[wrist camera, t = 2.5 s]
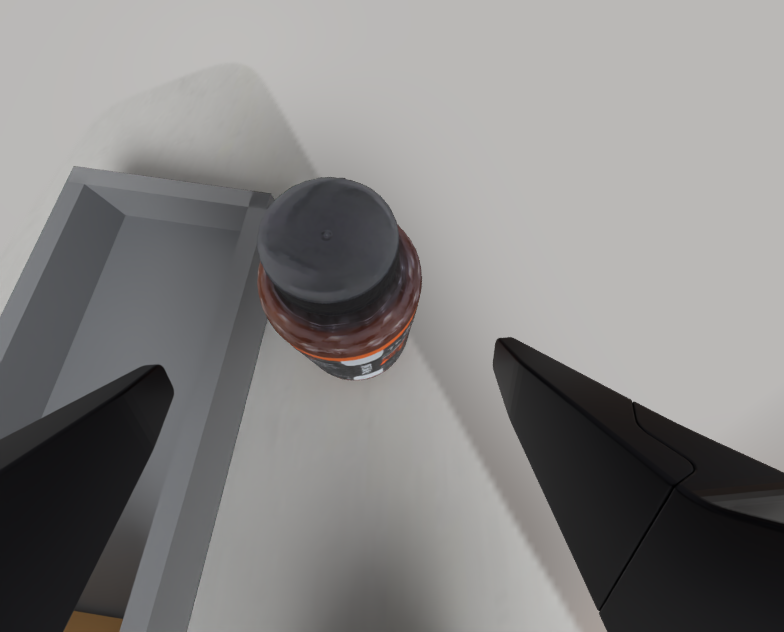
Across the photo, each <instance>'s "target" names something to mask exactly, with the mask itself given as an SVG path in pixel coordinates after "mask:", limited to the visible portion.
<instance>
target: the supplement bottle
mask: <svg viewBox="0 0 784 632" xmlns="http://www.w3.org/2000/svg"><path fill="white" fill-rule="evenodd" d="M257 250H258V255H259V258H260V264H259V268H258V280H257V286H258V294H259V298H260V302H261V305H262V308H263V311H264V312H265V314H266V316H267V318H268V320H269V321H270V323H271V324H272V326H273V327H274V329H275V330H276V331H277V332H278V333H279V335H280V336H281V337H283V338H284V339H285V340H286V341H287V342H288V343H290V344H291V345H292V346H293V347H294V348H295V349H297V350H298V351H299V352H301V353H302V354H303V355H305V356H306V357H307V358H308V359H310V360H311V361H312V362H314V363H315V364H316V365H318V366H319V367H320V368H321V369H323V370H324V371H326V372H327V373H329V374H331V375H333V376H336V377H338V378H341V379H346V380H364V379H369V378H372V377H375V376H377V375H379V374H381V373H383V372H384V371H386V370H387V369H388V368H389V367H391V366H392V365H393V363H394V362H396V360H397V359H398V357H399V356H400V354H401V353H402V351H403V349H404V347H405V345H406V342H407V338H408V335H409V331H410V328H411V325H412V322H413V319H414V316H415V313H416V310H417V306H418V302H419V298H420V293H421V285H422V276H421V266H420V261H419V257H418V255H417V252H416V249H415V247H414V246H413V244H412V241H411V240H410V238H409V237H408V236H407V235H406V234H405V232H404V231H403V230H402V229H401V228H400V227H399V225H397V222H396V220H395V217H394V215H393V213H392V211H391V209H390V207H389V206H388V204H387V203H386V202H385V201H384V200H383V199H382V197H381V196H379V195H378V194H377V193H376V192H375V191H373V190H372V189H371V188H369V187H367V186H365V185H363V184H360V183H358V182H355V181H352V180H347V179H345V178H334V177H325V178H317V179H313V180H309V181H305V182H303V183H300V184H298V185H295V186H293V187H291V188H290V189H288V190H287V191H286V192H284V193H283V194H281V195H280V196H279V197H278V198H277V199H276V200H275V201H274V202H273V203H272V204H271V205H270V206H269V208H268V209H267V210H266V212H265V214H264V216H263V218H262V220H261V222H260V225H259V232H258V236H257Z"/></svg>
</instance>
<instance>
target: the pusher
mask: <svg viewBox="0 0 784 632" xmlns="http://www.w3.org/2000/svg"><path fill="white" fill-rule="evenodd" d="M122 621H123V619H120V618H114V617H108V616H102V615H96V614H90V613H84V612H78V611H73V613H72V615H71V617H70V619H69V621H68V623H67V626H66V628H65V630H64V632H119V631H120V628H121V624H122Z"/></svg>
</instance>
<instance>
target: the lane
mask: <svg viewBox="0 0 784 632" xmlns="http://www.w3.org/2000/svg"><path fill="white" fill-rule="evenodd" d="M274 201H275V200H274V198H273V196H272V194H271V193H263V192H256V191H249V190H242V189H235V188H228V187H221V186H213V185H206V184H199V183H192V182H185V181H178V180H170V179H163V178H156V177H149V176H142V175H135V174H127V173H120V172H113V171H106V170H99V169H92V168H85V167H77V166H74V167H73V169H72V171H71V173H70V175H69V177H68V179H67V181H66V183H65V185H64V187H63V189H62V191H61V193H60V195H59V197H58V200H57V202H56V204H55V206H54V208H53V210H52V212H51V214H50V216H49V218H48V220H47V222H46V224H45V226H44V228H43V230H42V232H41V234H40V236H39V239H38V241H37V243H36V245H35V247H34V249H33V251H32V253H31V255H30V257H29V259H28V261H27V263H26V265H25V267H24V269H23V271H22V273H21V275H20V278H19V280H18V282H17V284H16V286H15V288H14V290H13V292H12V294H11V296H10V298H9V300H8V302H7V304H6V306H5V308H4V310H3V312H2V314H1V317H0V439H2V438H4V437H6V436H8V435H10V434H11V433H13V432H15V431H17V430H19V429H21V428H23V427H25V426H27V425H29V424H31V423H33V422H35V421H37V420H38V419H40V418H42V417H44V416H46V415H48V414H50V413H52V412H54V411H56V410H58V409H60V408H62V407H64V406H66V405H67V404H69V403H71V402H73V401H75V400H77V399H79V398H81V397H83V396H85V395H87V394H89V393H91V392H93V391H94V390H96V389H98V388H100V387H102V386H104V385H106V384H108V383H110V382H112V381H114V380H116V379H118V378H120V377H122V376H123V375H125V374H127V373H129V372H131V371H133V370H135V369H137V368H139V367H141V366H144V365H154V364H159V365H162V366H163V367H164V369H165V371H166V373H167V375H168V377H169V379H170V381H171V383H172V385H173V388H174V397H173V400H172V402H171V405H170V408H169V411H168V413H167V416H166V419H165V421H164V424H163V427H162V429H161V432H160V435H159V437H158V440H157V442H156V445H155V447H154V450H153V452H152V454H151V456H150V458H149V460H148V462H147V464H146V466H145V468H144V470H143V472H142V474H141V476H140V478H139V480H138V483H137V485H136V487H135V489H134V491H133V493H132V495H131V497H130V499H129V501H128V503H127V505H126V507H125V509H124V511H123V513H122V515H121V517H120V519H119V521H118V523H117V525H116V527H115V529H114V531H113V533H112V535H111V537H110V539H109V541H108V543H107V545H106V547H105V549H104V551H103V553H102V555H101V557H100V559H99V561H98V563H97V565H96V567H95V569H94V571H93V573H92V575H91V577H90V579H89V581H88V583H87V585H86V587H85V589H84V591H83V593H82V595H81V597H80V599H79V601H78V603H77V605H76V607H75V609H74V611H78V612H84V613H90V614H96V615H102V616H108V617H114V618H120V619H123V621H122V624H121V628H120V631H119V632H187V628H188V624H189V620H190V616H191V612H192V608H193V604H194V601H195V597H196V593H197V589H198V585H199V581H200V577H201V573H202V570H203V566H204V562H205V558H206V554H207V550H208V546H209V542H210V538H211V535H212V531H213V527H214V523H215V519H216V515H217V511H218V507H219V504H220V500H221V496H222V492H223V488H224V484H225V480H226V476H227V473H228V469H229V465H230V461H231V457H232V453H233V449H234V445H235V442H236V438H237V434H238V430H239V426H240V422H241V418H242V414H243V411H244V407H245V403H246V399H247V395H248V391H249V387H250V383H251V380H252V376H253V372H254V368H255V364H256V360H257V356H258V352H259V349H260V345H261V341H262V337H263V333H264V329H265V325H266V321H267V316H266V314H265V312H264V311H263V308H262V305H261V302H260V298H259V294H258V286H257V280H258V268H259V264H260V258H259V255H258V250H257V236H258V232H259V225H260V222H261V220H262V218H263V216H264V214H265V212H266V210H267V209H268V208H269V206H270V205H271V204H272V203H273V202H274Z"/></svg>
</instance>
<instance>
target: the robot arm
mask: <svg viewBox="0 0 784 632" xmlns="http://www.w3.org/2000/svg"><path fill="white" fill-rule="evenodd" d="M493 370H494V373H495V376H496V379H497V382H498V385H499V389H500V392H501V395H502V398H503V401H504V404H505V407H506V410H507V413H508V416H509V418H510V421H511V423H512V425H513V428H514V430H515V432H516V434H517V436H518V439H519V441H520V443H521V445H522V447H523V449H524V451H525V454H526V456H527V458H528V460H529V462H530V464H531V467H532V469H533V471H534V473H535V475H536V478H537V480H538V482H539V484H540V486H541V488H542V490H543V493H544V495H545V497H546V499H547V501H548V504H549V506H550V508H551V510H552V512H553V514H554V517H555V519H556V521H557V523H558V525H559V527H560V530H561V532H562V534H563V536H564V538H565V540H566V543H567V545H568V547H569V549H570V551H571V553H572V556H573V558H574V560H575V562H576V564H577V566H578V569H579V571H580V573H581V575H582V577H583V579H584V582H585V584H586V586H587V588H588V590H589V593H590V595H591V597H592V599H593V601H594V603H595V606H596V608H597V610H599V611H600V612H599V615H600V617H601V619H602V621H603V623H604V626H605V628H606V630H607V632H784V473H783V472H781V471H779V470H777V469H775V468H772V467H770V466H768V465H766V464H764V463H762V462H759V461H757V460H755V459H753V458H751V457H749V456H746V455H744V454H742V453H740V452H738V451H735V450H733V449H731V448H729V447H727V446H724V445H722V444H720V443H718V442H716V441H714V440H711V439H709V438H707V437H705V436H703V435H701V434H699V433H696V432H694V431H692V430H690V429H688V428H686V427H684V426H681V425H679V424H677V423H675V422H673V421H671V420H669V419H667V418H665V417H663V416H661V415H659V414H658V413H656V412H654V411H651V410H650V409H648V408H646V407H644V406H642V405H640V404H638V403H636V402H633V403H632V400H631V399H628V398H627V397H625V396H623V395H621V394H619V393H617V392H615V391H613V390H612V389H610V388H608V387H605V386H604V385H602V384H600V383H598V382H596V381H594V380H592V379H591V378H589V377H587V376H585V375H583V374H581V373H579V372H577V371H575V370H573V369H571V368H570V367H568V366H566V365H564V364H562V363H560V362H558V361H556V360H554V359H553V358H551V357H549V356H547V355H545V354H543V353H541V352H539V351H537V350H535V349H533V348H532V347H530V346H528V345H526V344H524V343H522V342H520V341H518V340H516V339H514V338H512V337H508V338H499V339H497V341H496V343H495V350H494V358H493ZM173 397H174V388H173V385H172V383H171V381H170V379H169V377H168V375H167V373H166V371H165V369H164V367H163V366H162V365H159V364H154V365H144V366H141V367H139V368H137V369H135V370H133V371H131V372H129V373H127V374H125V375H123V376H122V377H120V378H118V379H116V380H114V381H112V382H110V383H108V384H106V385H104V386H102V387H100V388H98V389H96V390H94V391H93V392H91V393H89V394H87V395H85V396H83V397H81V398H79V399H77V400H75V401H73V402H71V403H69V404H67V405H66V406H64V407H62V408H60V409H58V410H56V411H54V412H52V413H50V414H48V415H46V416H44V417H42V418H40V419H38V420H37V421H35V422H33V423H31V424H29V425H27V426H25V427H23V428H21V429H19V430H17V431H15V432H13V433H11V434H10V435H8V436H6V437H4V438H2V439H0V632H64V630H65V628H66V626H67V623H68V621H69V619H70V617H71V615H72V613H73V611H74V609H75V607H76V605H77V603H78V601H79V599H80V597H81V595H82V593H83V591H84V589H85V587H86V585H87V583H88V581H89V579H90V577H91V575H92V573H93V571H94V569H95V567H96V565H97V563H98V561H99V559H100V557H101V555H102V553H103V551H104V549H105V547H106V545H107V543H108V541H109V539H110V537H111V535H112V533H113V531H114V529H115V527H116V525H117V523H118V521H119V519H120V517H121V515H122V513H123V511H124V509H125V507H126V505H127V503H128V501H129V499H130V497H131V495H132V493H133V491H134V489H135V487H136V485H137V483H138V480H139V478H140V476H141V474H142V472H143V470H144V468H145V466H146V464H147V462H148V460H149V458H150V456H151V454H152V452H153V450H154V447H155V445H156V442H157V440H158V437H159V435H160V432H161V429H162V427H163V424H164V421H165V419H166V416H167V413H168V411H169V408H170V405H171V402H172V400H173Z"/></svg>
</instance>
